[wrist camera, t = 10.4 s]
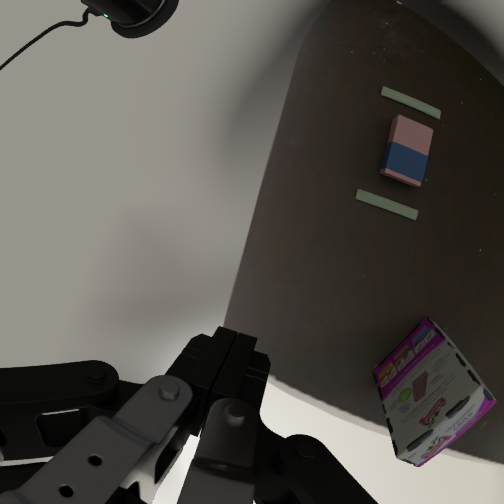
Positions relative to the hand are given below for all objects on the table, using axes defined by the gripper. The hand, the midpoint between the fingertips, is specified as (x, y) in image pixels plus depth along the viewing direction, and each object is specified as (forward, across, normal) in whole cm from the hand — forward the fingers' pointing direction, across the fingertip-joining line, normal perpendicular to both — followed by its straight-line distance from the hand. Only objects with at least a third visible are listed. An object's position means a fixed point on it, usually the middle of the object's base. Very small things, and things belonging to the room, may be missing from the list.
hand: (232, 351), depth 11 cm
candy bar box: (+26, -22, +10) cm, 35 cm away
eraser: (+25, -11, -14) cm, 31 cm away
